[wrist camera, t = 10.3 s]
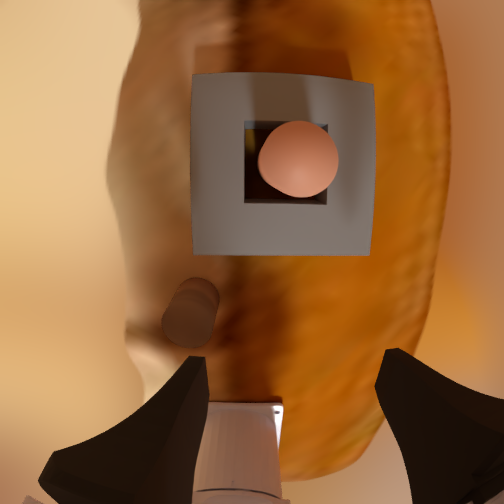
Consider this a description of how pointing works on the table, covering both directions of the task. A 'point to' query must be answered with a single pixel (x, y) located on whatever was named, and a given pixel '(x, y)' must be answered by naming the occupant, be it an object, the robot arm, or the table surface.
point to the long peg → (298, 159)
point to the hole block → (279, 210)
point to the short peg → (191, 313)
